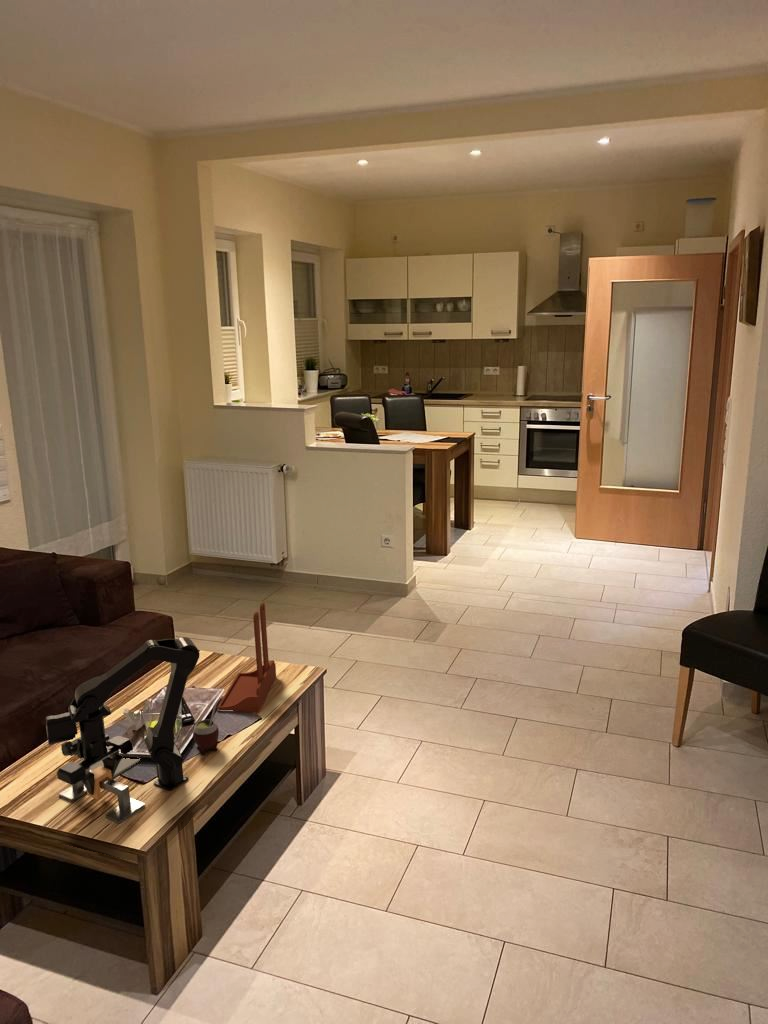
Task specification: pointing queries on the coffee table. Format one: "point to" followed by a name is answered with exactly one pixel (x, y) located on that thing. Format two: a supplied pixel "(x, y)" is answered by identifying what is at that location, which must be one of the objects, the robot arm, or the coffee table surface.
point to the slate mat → (121, 767)
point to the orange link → (99, 775)
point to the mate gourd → (207, 733)
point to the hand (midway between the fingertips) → (100, 789)
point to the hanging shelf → (252, 676)
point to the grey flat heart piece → (132, 717)
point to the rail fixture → (121, 790)
